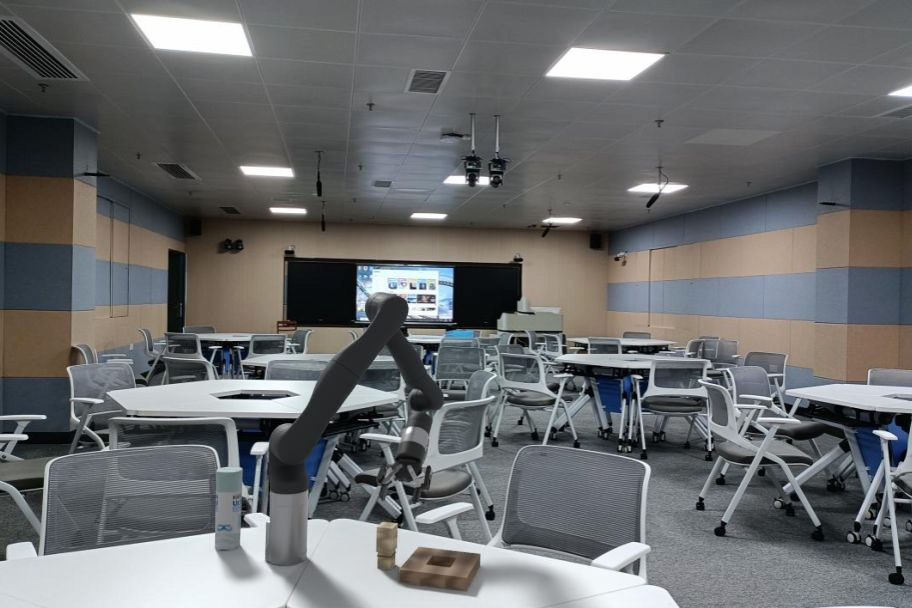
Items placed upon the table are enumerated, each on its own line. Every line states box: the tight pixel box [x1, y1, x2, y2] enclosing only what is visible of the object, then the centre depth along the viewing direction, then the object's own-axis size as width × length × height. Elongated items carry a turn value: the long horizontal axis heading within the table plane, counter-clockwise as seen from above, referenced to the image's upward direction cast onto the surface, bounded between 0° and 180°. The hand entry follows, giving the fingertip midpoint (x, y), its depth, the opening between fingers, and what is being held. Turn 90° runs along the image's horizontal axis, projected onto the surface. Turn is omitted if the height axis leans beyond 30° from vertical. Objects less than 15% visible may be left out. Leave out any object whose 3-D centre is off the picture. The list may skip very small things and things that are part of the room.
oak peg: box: [375, 521, 399, 571], centre depth 157 cm, size 4×4×10 cm
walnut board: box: [398, 546, 482, 592], centre depth 153 cm, size 16×15×3 cm
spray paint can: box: [214, 466, 244, 551], centre depth 168 cm, size 6×6×20 cm
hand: (397, 501), depth 165 cm, fingers open, 8 cm apart
